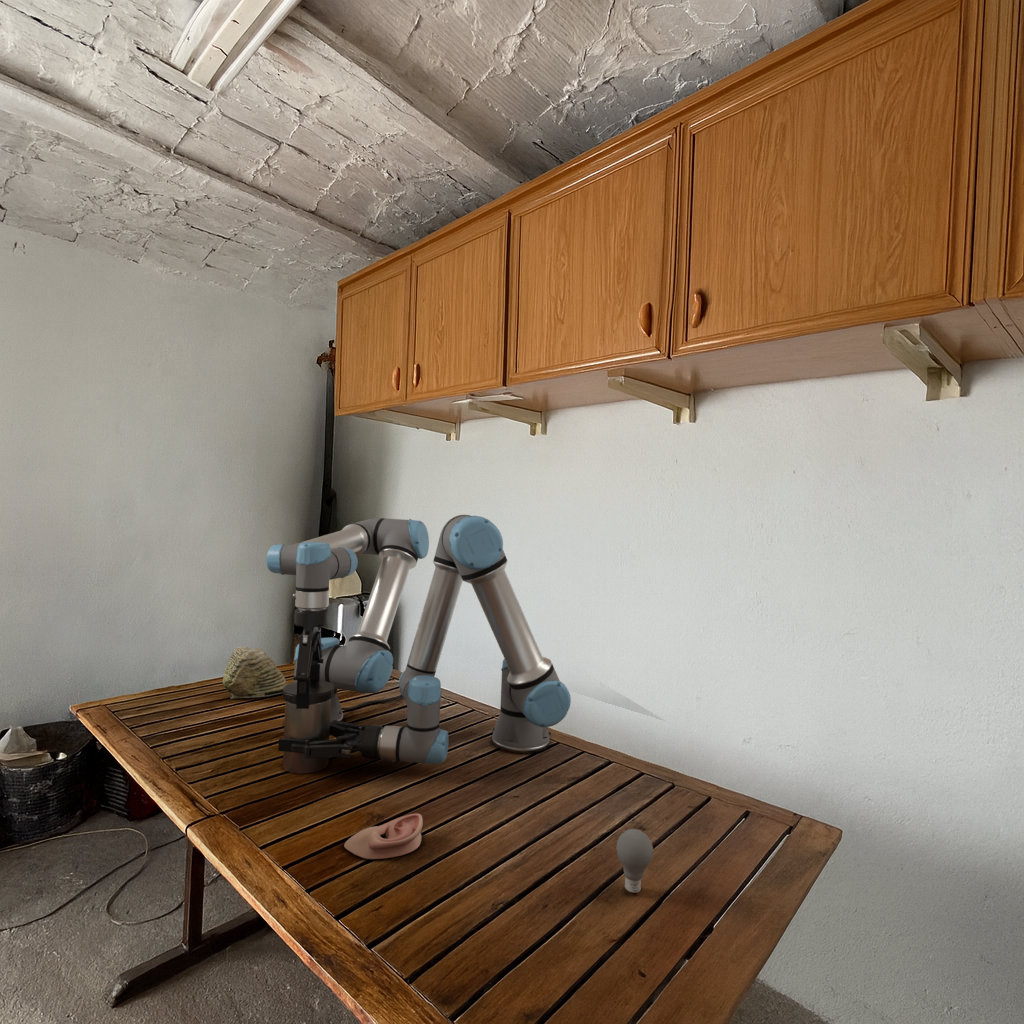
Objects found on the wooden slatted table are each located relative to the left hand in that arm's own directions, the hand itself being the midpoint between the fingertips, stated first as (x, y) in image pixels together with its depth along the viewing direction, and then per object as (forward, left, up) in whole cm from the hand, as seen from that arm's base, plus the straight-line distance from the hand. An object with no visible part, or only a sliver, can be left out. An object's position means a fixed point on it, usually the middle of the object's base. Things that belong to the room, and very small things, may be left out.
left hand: (308, 699), depth 149 cm
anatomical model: (+10, +40, -15) cm, 44 cm away
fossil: (-18, -55, -15) cm, 60 cm away
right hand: (+2, -4, -9) cm, 10 cm away
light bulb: (-9, +81, -15) cm, 83 cm away
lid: (0, 0, +2) cm, 2 cm away
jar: (0, 0, -15) cm, 15 cm away
